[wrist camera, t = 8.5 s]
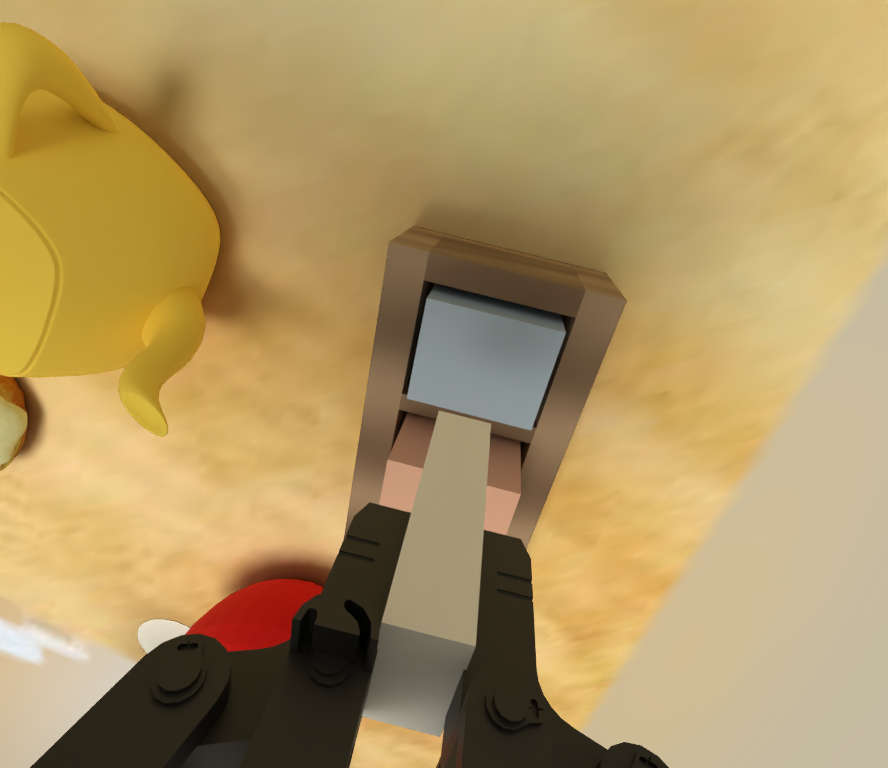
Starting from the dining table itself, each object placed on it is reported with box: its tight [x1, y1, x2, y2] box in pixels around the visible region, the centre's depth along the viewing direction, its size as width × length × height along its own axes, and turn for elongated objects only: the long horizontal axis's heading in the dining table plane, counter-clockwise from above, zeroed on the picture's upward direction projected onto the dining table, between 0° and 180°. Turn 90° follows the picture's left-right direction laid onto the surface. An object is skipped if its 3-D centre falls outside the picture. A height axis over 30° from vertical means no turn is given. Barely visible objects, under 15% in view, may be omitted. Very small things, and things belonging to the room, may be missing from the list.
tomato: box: [185, 579, 323, 652], centre depth 33 cm, size 12×14×11 cm
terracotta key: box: [379, 412, 521, 535], centre depth 23 cm, size 5×6×5 cm
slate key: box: [407, 283, 566, 430], centre depth 22 cm, size 5×6×5 cm
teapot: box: [0, 23, 220, 436], centre depth 21 cm, size 22×16×11 cm
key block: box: [344, 226, 627, 548], centre depth 26 cm, size 21×10×5 cm, turn 168°
